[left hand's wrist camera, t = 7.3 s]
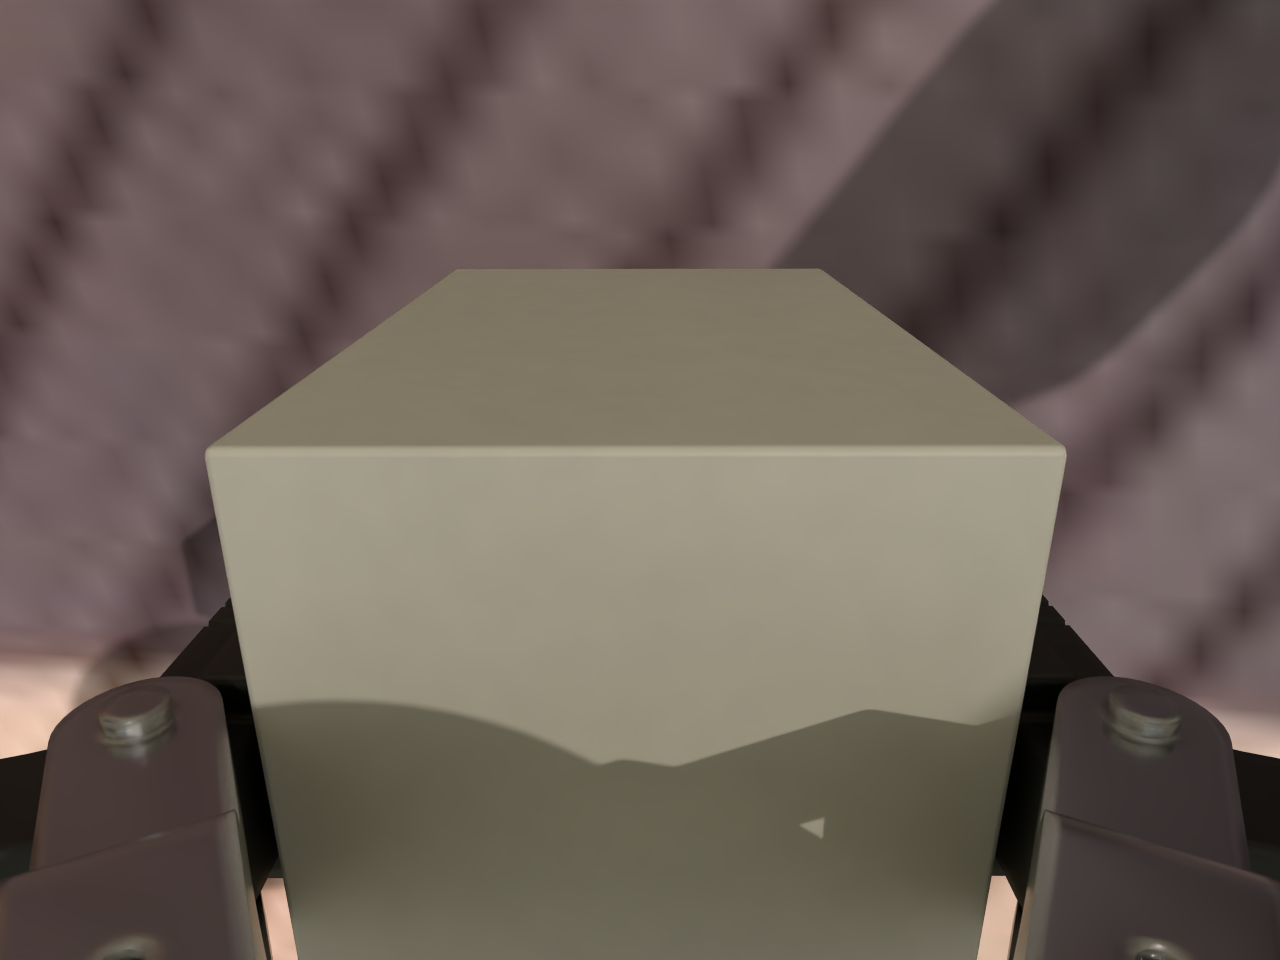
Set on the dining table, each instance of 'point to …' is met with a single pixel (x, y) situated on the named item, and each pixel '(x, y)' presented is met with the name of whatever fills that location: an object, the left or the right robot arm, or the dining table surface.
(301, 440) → the box
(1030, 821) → the left robot arm
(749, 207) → the dining table surface
